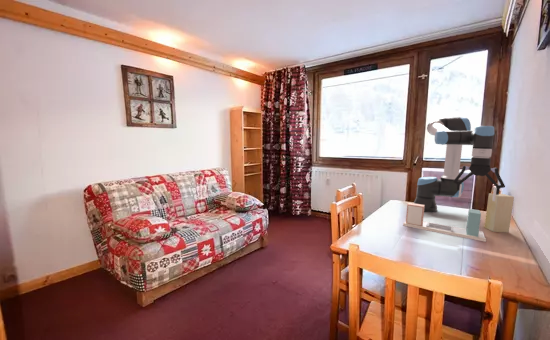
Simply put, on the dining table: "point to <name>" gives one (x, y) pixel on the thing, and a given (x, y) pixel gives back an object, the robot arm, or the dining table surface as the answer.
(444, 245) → the dining table surface
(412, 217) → the terracotta carton
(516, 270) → the dining table surface
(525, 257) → the dining table surface
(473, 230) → the teal carton
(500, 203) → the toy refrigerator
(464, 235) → the shelf
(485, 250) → the dining table surface
